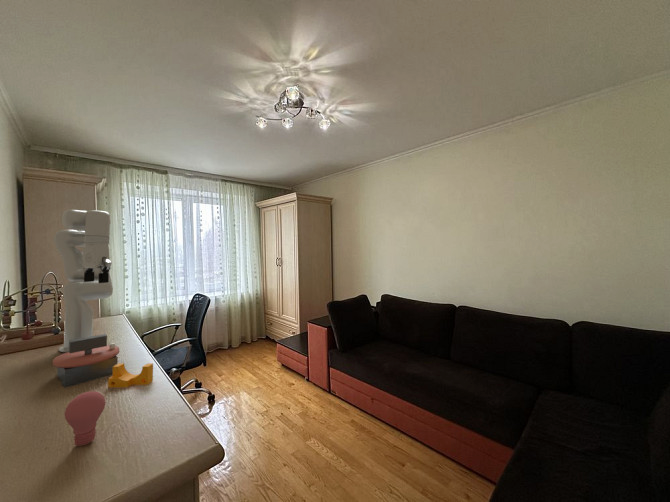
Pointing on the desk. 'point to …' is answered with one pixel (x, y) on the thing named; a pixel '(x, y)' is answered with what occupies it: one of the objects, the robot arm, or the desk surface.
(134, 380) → the pipe clamp
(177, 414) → the desk surface
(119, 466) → the desk surface
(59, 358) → the handwheel
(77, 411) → the light bulb
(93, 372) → the block
